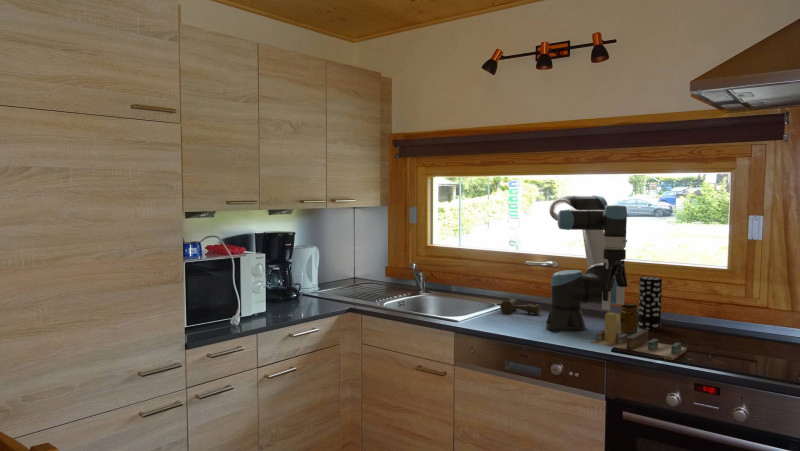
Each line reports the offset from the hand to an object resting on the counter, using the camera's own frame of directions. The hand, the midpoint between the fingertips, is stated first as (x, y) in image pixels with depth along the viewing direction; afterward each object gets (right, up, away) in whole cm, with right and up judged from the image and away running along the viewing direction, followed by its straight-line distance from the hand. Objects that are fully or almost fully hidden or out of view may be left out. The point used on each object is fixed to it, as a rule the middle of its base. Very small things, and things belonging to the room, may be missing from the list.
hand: (613, 307), depth 208 cm
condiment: (+12, -13, +13) cm, 22 cm away
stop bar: (0, -12, +1) cm, 12 cm away
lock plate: (+7, -14, -5) cm, 16 cm away
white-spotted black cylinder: (+24, -12, +26) cm, 38 cm away
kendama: (-24, -10, +54) cm, 59 cm away
